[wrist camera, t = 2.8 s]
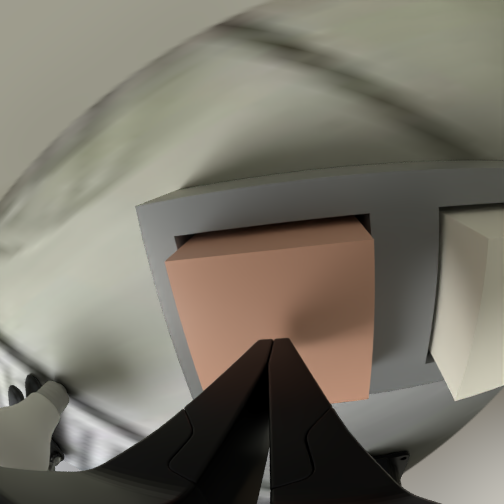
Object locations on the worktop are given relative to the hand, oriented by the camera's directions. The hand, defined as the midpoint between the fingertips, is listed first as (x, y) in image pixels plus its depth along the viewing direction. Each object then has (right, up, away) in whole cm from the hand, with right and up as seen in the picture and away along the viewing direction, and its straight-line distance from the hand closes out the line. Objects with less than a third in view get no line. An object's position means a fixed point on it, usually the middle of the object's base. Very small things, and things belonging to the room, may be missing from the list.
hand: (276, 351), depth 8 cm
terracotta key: (+1, +2, +5) cm, 5 cm away
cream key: (+9, +2, +2) cm, 9 cm away
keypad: (+5, +2, +5) cm, 8 cm away
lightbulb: (-16, -9, +12) cm, 22 cm away
